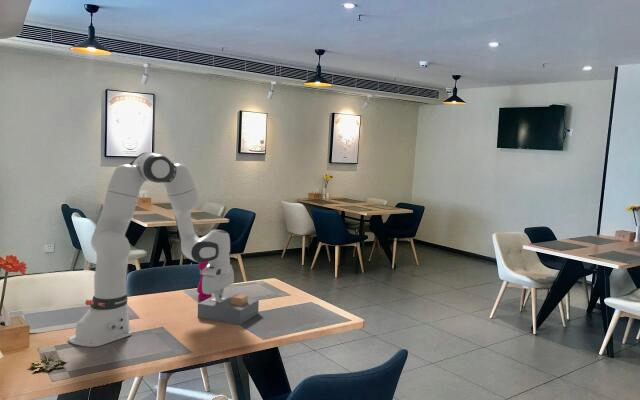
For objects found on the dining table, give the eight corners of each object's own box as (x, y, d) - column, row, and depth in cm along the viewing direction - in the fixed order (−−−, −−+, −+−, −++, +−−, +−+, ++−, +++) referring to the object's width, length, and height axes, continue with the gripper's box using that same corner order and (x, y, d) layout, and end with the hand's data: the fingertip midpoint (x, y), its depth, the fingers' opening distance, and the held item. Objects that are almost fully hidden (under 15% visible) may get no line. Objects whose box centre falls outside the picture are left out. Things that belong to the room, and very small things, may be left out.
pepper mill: (210, 301, 236) (211, 258, 234) (195, 300, 236) (195, 258, 234) (214, 296, 244) (214, 255, 242) (199, 296, 244) (199, 254, 242)
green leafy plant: (25, 363, 165) (25, 349, 165) (67, 357, 171) (67, 343, 171) (26, 378, 155) (26, 363, 154) (70, 371, 161) (70, 357, 160)
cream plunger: (220, 313, 216) (220, 301, 215) (210, 311, 218) (210, 300, 217) (226, 309, 221) (226, 298, 220) (216, 308, 222) (216, 297, 222)
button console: (240, 324, 207) (240, 310, 206) (197, 317, 213) (197, 303, 213) (258, 313, 222) (258, 299, 221) (218, 306, 228) (218, 293, 228)
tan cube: (241, 310, 212) (241, 298, 212) (230, 308, 214) (231, 297, 213) (247, 307, 217) (247, 295, 216) (236, 305, 219) (237, 293, 218)
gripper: (225, 261, 228) (224, 292, 229) (199, 271, 209) (199, 304, 210) (237, 263, 226) (237, 294, 227) (212, 273, 207) (212, 306, 208)
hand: (218, 299), depth 219 cm, fingers closed, pressing on cream plunger
